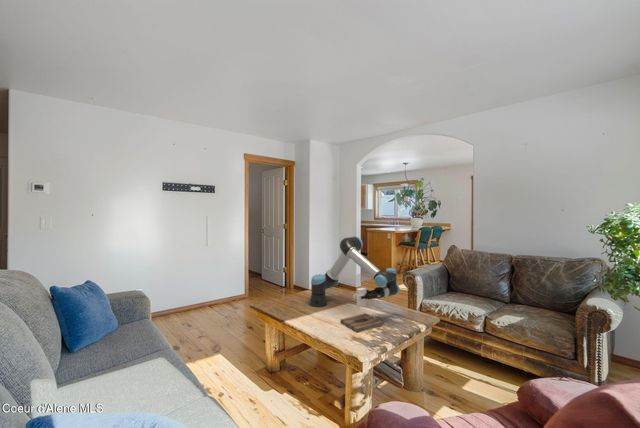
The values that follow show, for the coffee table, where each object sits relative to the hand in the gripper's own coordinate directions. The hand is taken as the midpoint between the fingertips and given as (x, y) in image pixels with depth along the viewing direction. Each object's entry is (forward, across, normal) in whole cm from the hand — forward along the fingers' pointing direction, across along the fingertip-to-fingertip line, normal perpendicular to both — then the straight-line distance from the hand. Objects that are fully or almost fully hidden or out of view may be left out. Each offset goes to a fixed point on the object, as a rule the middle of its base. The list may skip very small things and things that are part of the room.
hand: (355, 297), depth 193 cm
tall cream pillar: (-5, 0, -7) cm, 9 cm away
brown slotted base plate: (-5, 0, -19) cm, 20 cm away
